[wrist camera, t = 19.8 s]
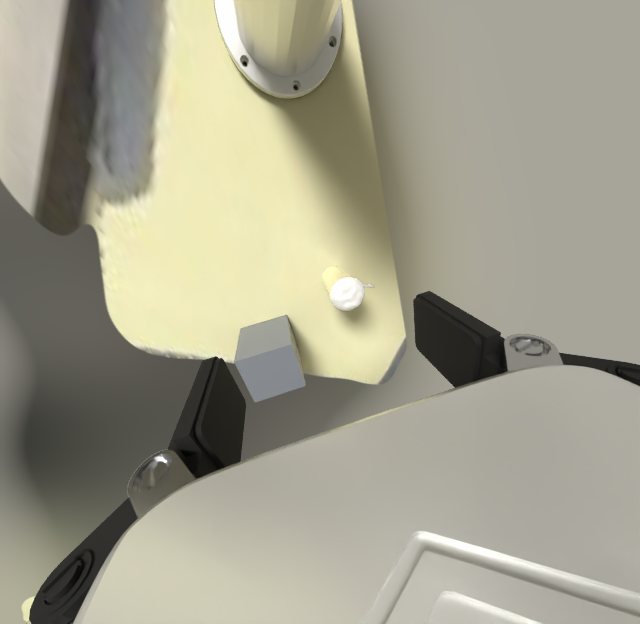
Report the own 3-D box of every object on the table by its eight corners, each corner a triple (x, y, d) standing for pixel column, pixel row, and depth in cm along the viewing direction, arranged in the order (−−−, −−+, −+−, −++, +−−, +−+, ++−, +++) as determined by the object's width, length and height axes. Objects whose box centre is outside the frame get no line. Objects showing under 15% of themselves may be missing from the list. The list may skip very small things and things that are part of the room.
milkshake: (355, 276, 39) (381, 300, 30) (327, 294, 39) (345, 323, 30) (342, 253, 37) (366, 271, 28) (312, 272, 37) (327, 296, 28)
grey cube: (240, 328, 39) (234, 361, 31) (286, 314, 39) (291, 344, 32) (257, 364, 42) (254, 402, 35) (299, 351, 43) (306, 385, 35)
